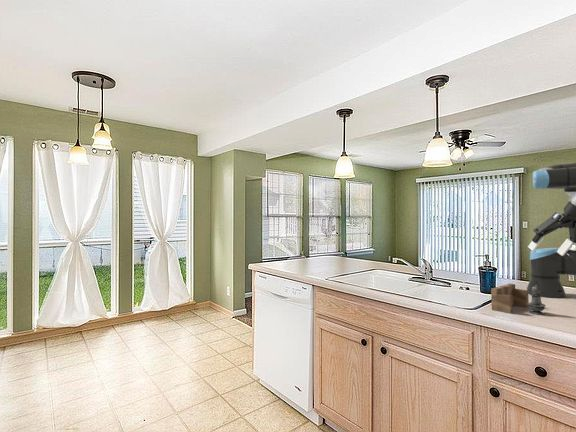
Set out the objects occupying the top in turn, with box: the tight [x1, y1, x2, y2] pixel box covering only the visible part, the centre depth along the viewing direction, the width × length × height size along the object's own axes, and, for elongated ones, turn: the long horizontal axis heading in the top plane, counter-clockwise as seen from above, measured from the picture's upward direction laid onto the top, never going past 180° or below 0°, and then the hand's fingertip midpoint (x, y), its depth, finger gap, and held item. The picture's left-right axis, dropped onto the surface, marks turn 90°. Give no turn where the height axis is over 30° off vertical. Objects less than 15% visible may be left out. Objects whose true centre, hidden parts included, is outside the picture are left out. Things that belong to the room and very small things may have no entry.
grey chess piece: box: [528, 284, 547, 316], centre depth 131 cm, size 6×6×12 cm
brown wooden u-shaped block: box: [490, 283, 530, 314], centre depth 139 cm, size 18×7×9 cm, turn 123°
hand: (545, 251), depth 127 cm, fingers open, 13 cm apart
